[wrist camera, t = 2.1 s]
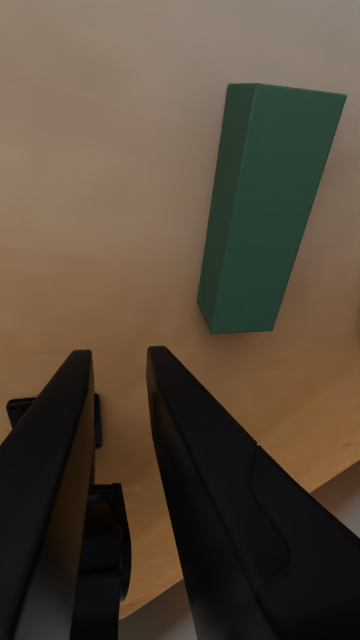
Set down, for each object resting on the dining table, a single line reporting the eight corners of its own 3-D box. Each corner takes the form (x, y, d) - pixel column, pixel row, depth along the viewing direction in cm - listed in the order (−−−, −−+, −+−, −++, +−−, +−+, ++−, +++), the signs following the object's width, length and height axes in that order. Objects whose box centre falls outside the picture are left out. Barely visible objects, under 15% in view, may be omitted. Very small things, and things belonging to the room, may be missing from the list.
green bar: (251, 301, 23) (272, 331, 20) (196, 302, 22) (210, 334, 19) (305, 92, 16) (348, 94, 13) (227, 83, 15) (256, 82, 12)
